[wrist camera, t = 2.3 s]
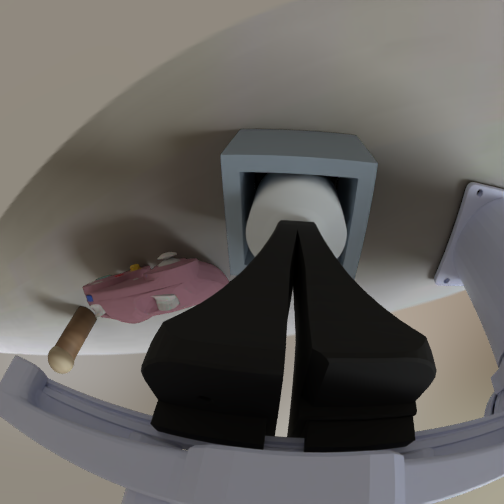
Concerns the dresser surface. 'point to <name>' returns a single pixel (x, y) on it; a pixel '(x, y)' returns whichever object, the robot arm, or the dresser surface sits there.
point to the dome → (296, 208)
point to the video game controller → (154, 289)
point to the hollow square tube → (296, 162)
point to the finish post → (71, 340)
